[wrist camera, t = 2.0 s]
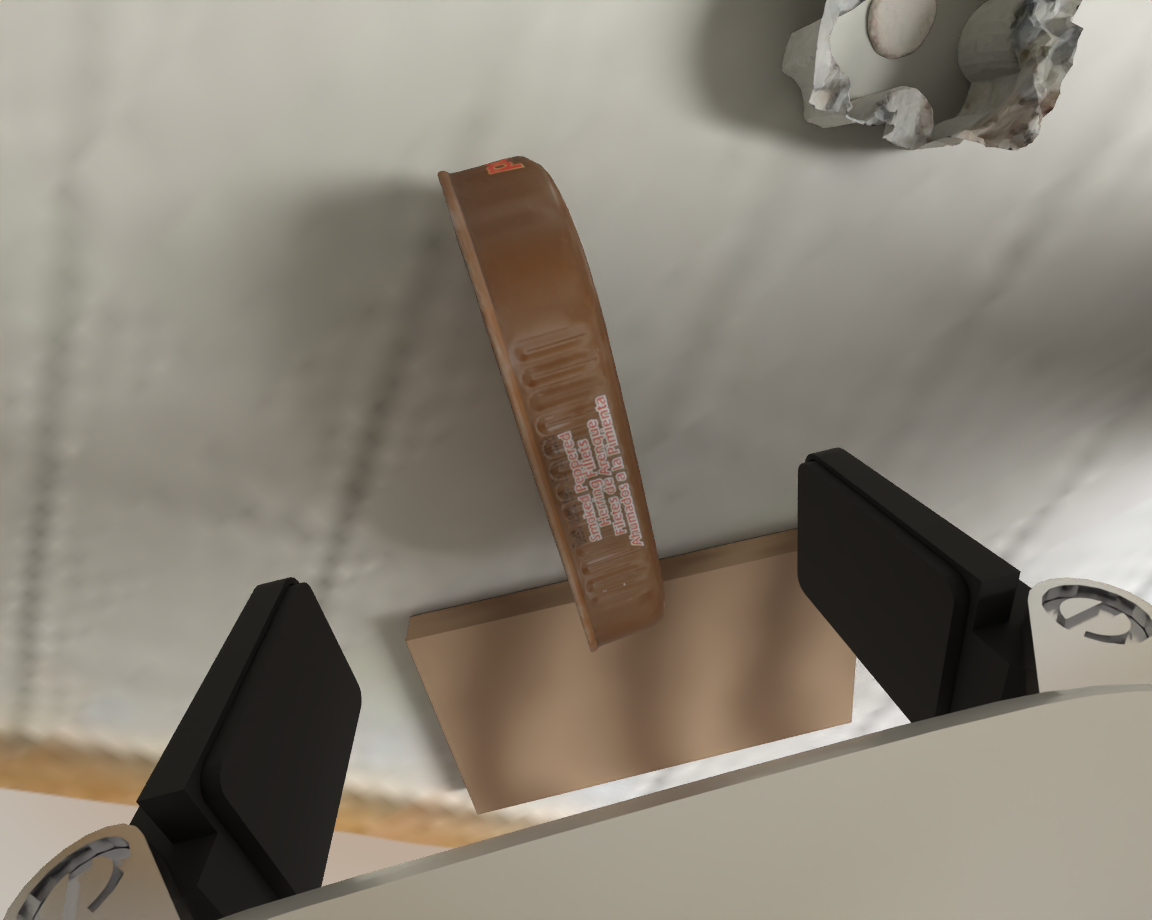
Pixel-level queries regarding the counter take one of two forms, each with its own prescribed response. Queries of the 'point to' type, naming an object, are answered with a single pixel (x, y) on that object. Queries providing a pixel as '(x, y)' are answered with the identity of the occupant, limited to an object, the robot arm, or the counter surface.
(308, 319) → the counter surface
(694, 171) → the counter surface
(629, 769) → the walnut board
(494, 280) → the tin
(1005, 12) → the egg carton
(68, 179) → the counter surface
